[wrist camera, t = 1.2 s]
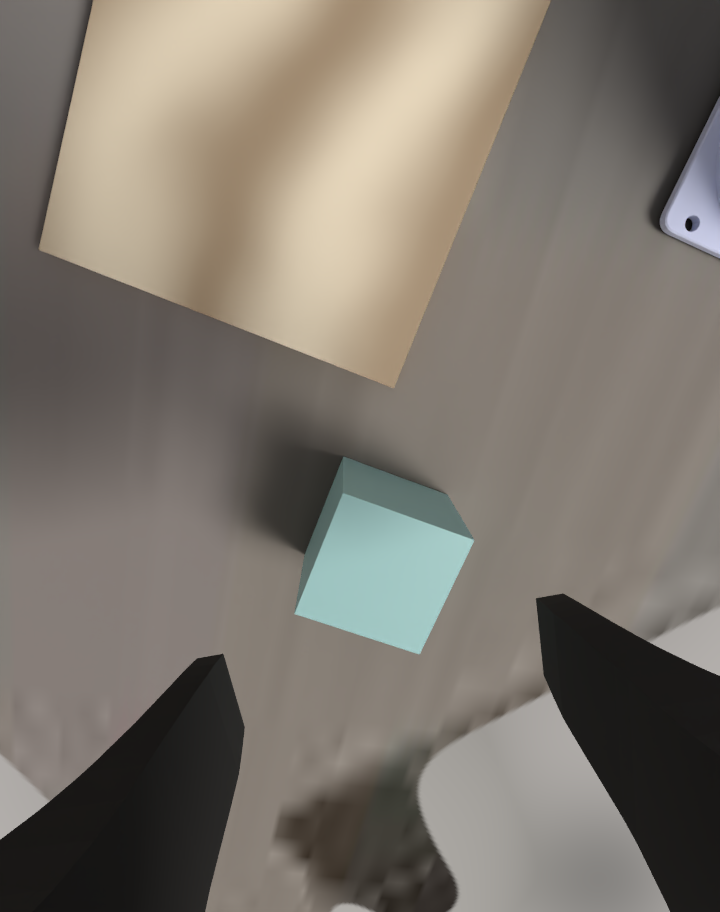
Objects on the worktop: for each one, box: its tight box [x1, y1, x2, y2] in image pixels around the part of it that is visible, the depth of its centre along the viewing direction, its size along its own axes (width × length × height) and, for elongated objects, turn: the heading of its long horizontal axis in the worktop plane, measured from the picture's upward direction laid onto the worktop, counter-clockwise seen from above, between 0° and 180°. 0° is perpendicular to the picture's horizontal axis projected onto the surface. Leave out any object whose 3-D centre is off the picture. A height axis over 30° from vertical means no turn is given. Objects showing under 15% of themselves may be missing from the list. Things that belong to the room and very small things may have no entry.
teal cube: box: [295, 456, 474, 654], centre depth 19 cm, size 4×4×4 cm
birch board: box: [39, 0, 551, 388], centre depth 17 cm, size 13×13×1 cm
